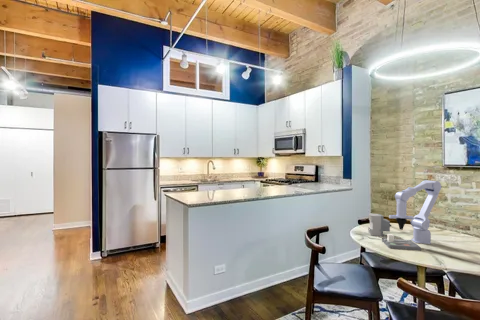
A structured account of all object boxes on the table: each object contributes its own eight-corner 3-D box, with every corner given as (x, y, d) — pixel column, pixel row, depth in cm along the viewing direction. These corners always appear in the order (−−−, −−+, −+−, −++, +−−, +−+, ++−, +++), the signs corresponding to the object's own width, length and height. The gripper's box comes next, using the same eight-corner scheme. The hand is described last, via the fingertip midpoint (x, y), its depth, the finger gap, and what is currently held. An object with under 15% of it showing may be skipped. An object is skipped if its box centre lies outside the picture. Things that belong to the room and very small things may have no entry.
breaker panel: (410, 243, 175) (410, 239, 175) (420, 250, 161) (420, 246, 161) (382, 241, 178) (382, 237, 178) (389, 248, 165) (389, 243, 165)
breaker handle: (392, 240, 172) (392, 234, 172) (393, 242, 169) (393, 235, 169) (387, 240, 173) (387, 233, 173) (388, 241, 170) (388, 235, 170)
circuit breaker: (392, 236, 188) (392, 216, 188) (371, 235, 191) (371, 215, 191) (388, 233, 196) (388, 214, 195) (368, 232, 198) (368, 213, 198)
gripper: (392, 210, 172) (391, 230, 172) (416, 211, 169) (415, 231, 169) (388, 208, 179) (387, 227, 179) (411, 209, 176) (410, 228, 176)
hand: (401, 229), depth 175 cm, fingers closed
